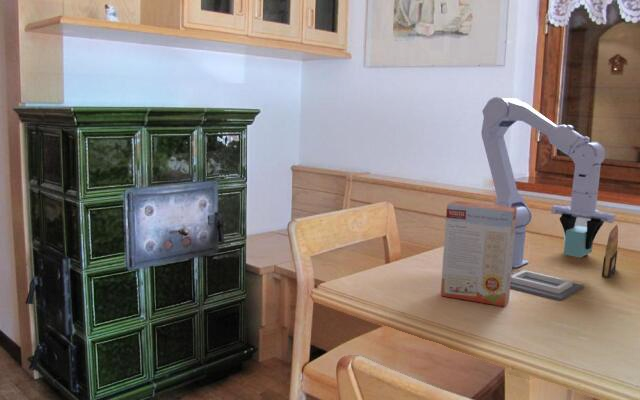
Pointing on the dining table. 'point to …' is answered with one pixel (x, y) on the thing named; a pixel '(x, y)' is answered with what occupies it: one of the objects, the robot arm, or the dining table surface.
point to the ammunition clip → (610, 253)
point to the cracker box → (478, 252)
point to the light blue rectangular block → (576, 242)
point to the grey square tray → (543, 285)
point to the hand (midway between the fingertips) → (578, 246)
